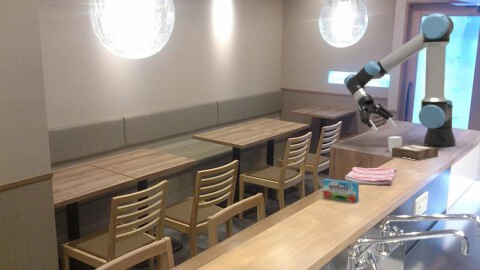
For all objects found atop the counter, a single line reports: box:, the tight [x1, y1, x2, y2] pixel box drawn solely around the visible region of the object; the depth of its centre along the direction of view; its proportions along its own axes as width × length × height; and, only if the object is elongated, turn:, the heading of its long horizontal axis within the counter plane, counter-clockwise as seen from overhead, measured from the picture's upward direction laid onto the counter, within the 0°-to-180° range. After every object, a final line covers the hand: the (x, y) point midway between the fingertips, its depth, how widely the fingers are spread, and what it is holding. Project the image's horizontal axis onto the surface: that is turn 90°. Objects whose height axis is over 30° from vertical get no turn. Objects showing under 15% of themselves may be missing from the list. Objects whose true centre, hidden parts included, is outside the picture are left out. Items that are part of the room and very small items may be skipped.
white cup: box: [387, 135, 403, 153], centre depth 226 cm, size 7×7×7 cm
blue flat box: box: [322, 178, 360, 204], centre depth 150 cm, size 12×2×6 cm, turn 50°
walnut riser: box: [391, 143, 439, 161], centre depth 212 cm, size 14×14×4 cm
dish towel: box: [344, 166, 398, 186], centre depth 177 cm, size 17×23×4 cm
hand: (385, 130), depth 230 cm, fingers open, 13 cm apart
